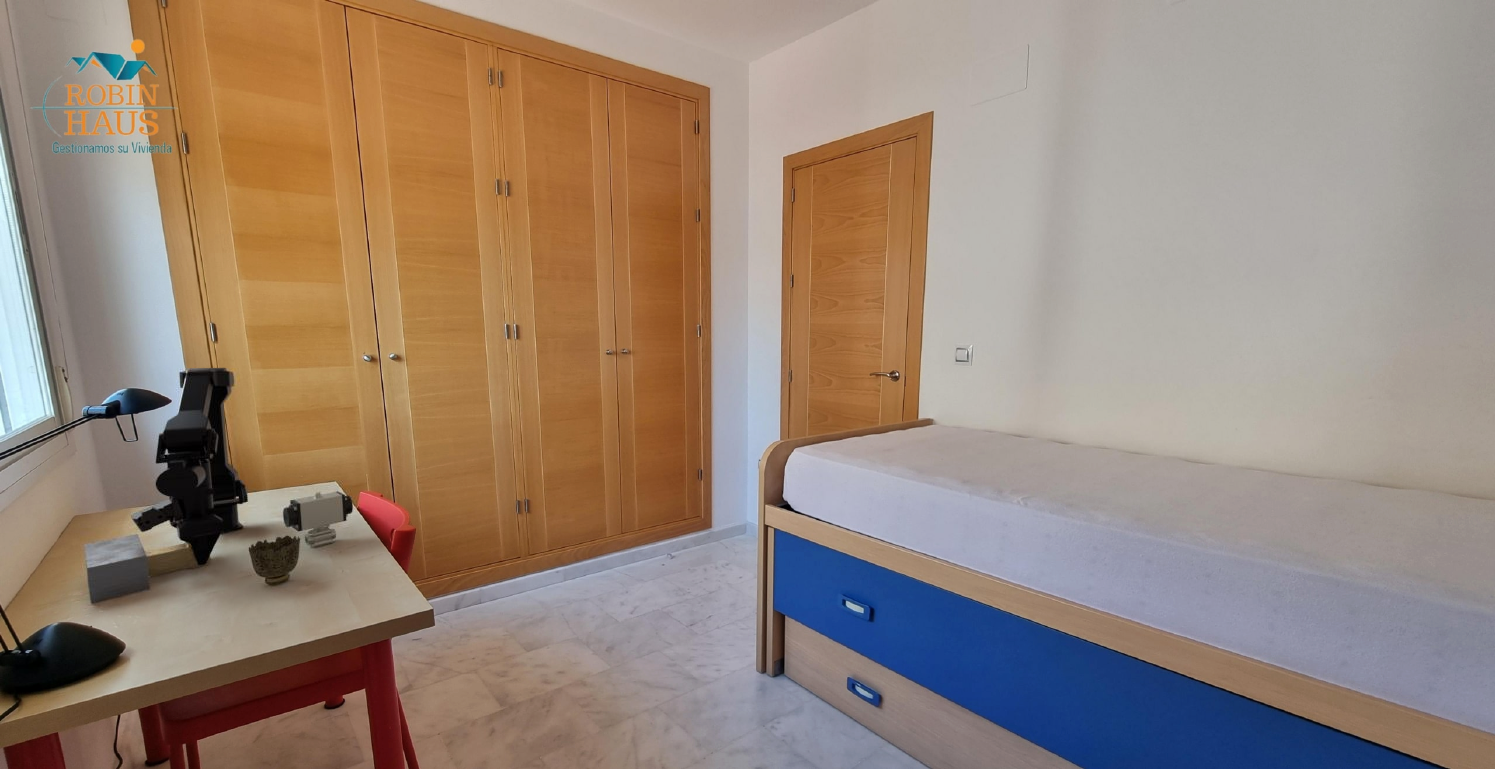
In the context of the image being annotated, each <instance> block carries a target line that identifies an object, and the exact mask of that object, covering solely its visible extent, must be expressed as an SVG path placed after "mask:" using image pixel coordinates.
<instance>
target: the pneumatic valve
mask: <svg viewBox="0 0 1495 769" xmlns="http://www.w3.org/2000/svg"><path fill="white" fill-rule="evenodd" d="M289 502H290V504H289V505H288V506H286V507H284V508H283V511H282V518H283V523H284V525H285V527H286V528H290V527H291V528H292V529H294V530H295V531H297V532H304V531H307V532H306V534H305V536H304V542H305V544H306V546H311V547H312V548H318V547H322V545H323V546H327V545H331V544H333V543H334V540H335V539H336V538H337V531H336V528H330V525H334V524H339V523H342V522H343V523H344V522H347V517H348V516H349V515H351V514H352V513H353V509H354V505H353V500H352V497H351V496H350V495H345V493H342V492H340V491H333V492H327V493H322V494H321V491H318V492H314V495H313V496H312V495H310V496H307V497H301V498H296V499H291V500H290V501H289ZM330 543H331V544H330ZM326 544H327V545H326Z"/></svg>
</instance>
